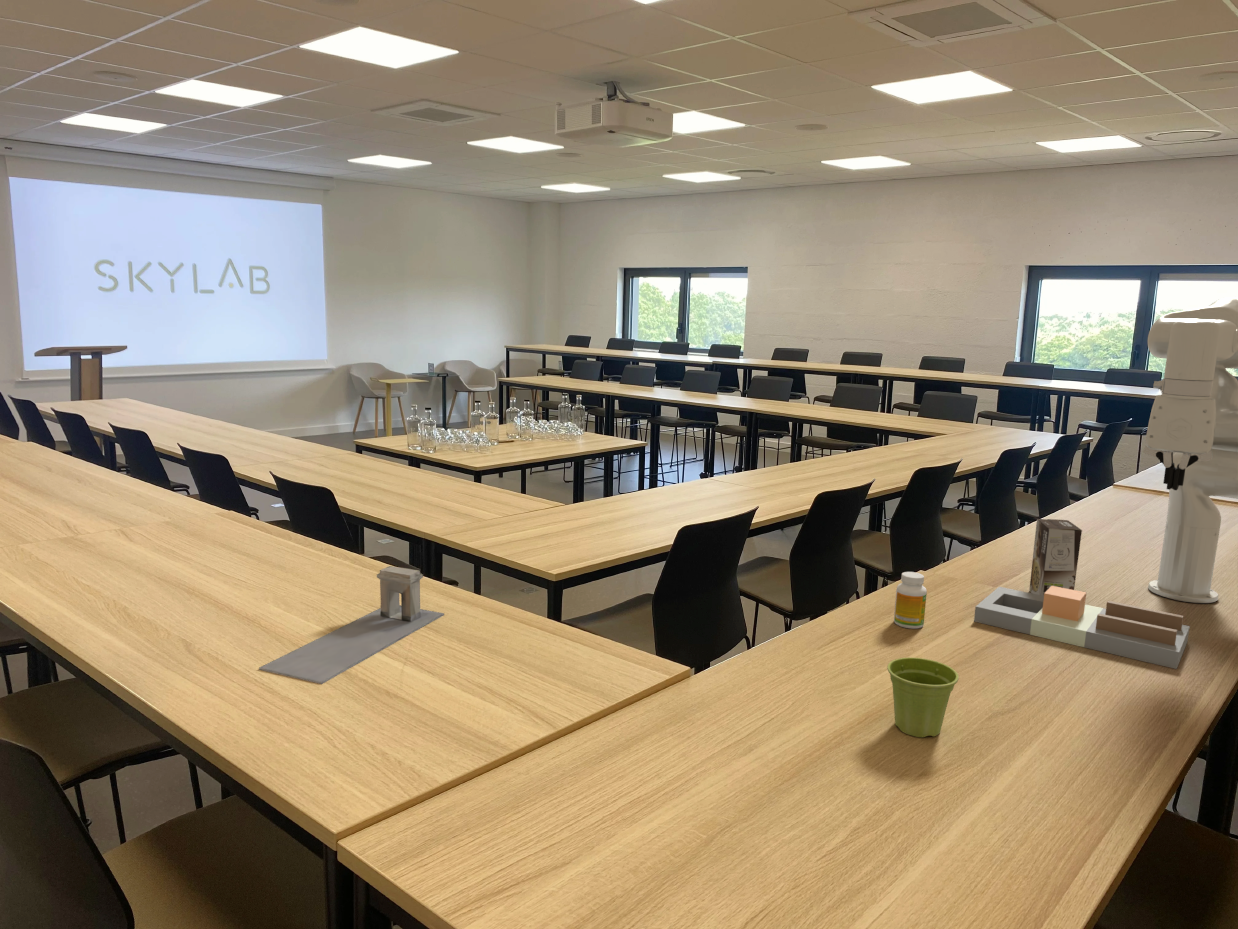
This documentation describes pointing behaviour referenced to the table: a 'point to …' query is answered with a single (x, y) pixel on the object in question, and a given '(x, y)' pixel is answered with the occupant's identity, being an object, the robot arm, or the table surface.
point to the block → (1064, 603)
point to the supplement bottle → (910, 601)
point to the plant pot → (920, 694)
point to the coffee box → (1054, 555)
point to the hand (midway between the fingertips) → (1172, 488)
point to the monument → (361, 632)
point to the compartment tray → (1092, 626)
